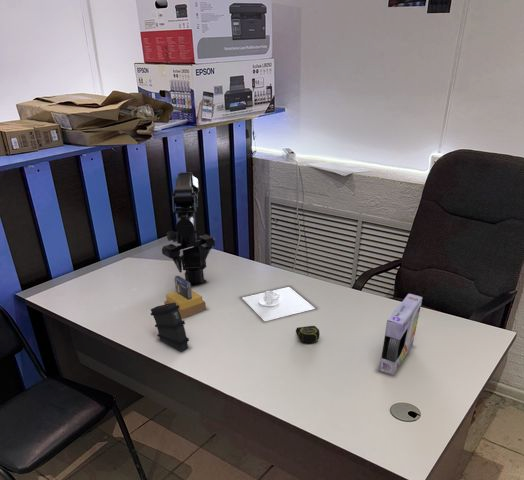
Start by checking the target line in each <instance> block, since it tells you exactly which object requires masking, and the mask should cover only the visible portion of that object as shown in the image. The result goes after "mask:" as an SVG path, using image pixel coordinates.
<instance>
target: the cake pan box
mask: <svg viewBox="0 0 524 480" xmlns="http://www.w3.org/2000/svg"><path fill="white" fill-rule="evenodd" d="M422 303H423V296H420V295H416V294H413V293H407V295H406V296H405V297H404V298H403V300H402V301H401V302H400V303H399V304H398V305H397V306H396V308H395V310H394V311H393V312H392V313H391V315H390V316H389V317H388V318H387V320H386V324H385V331H384V336H383V337H384V338H383V345H382V350H381V356H380V362H379V370H378V371H379V372H381V373H384V374H386V375H389V376H394V375H395V374H396V372H397V371H398V369H399V367H400V366H401V364H402V362H403V361H404V359H405V358H406V356H407V355H408V354H409V352H410V350H411V349H412V347H413V345H414V341H415V336H416V331H417V327H418V326H417V325H418V321H419V317H420V312H421V308H422Z"/></svg>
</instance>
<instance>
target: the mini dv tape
mask: <svg viewBox="0 0 524 480" xmlns="http://www.w3.org/2000/svg"><path fill="white" fill-rule="evenodd" d="M174 286H175V292H177V293H178V294H180V295H181V296H183V297H184V298H186V299H188V300H189V299H192V293H191V290H192V286H191V284H190V282H188V281H186V280H185V278H183V277H182V276H180V275H175V276H174Z"/></svg>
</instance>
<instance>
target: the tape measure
mask: <svg viewBox="0 0 524 480" xmlns="http://www.w3.org/2000/svg"><path fill="white" fill-rule="evenodd" d="M295 334H296V336H297V337H298V340H299V341H300V342H302V343H305V344H312V343H316V342H317V341H319V339H320V328H318V327H317V326H316V325H308V326H307V325H306V326H300V327H299V326H298V327H296V329H295Z"/></svg>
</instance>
